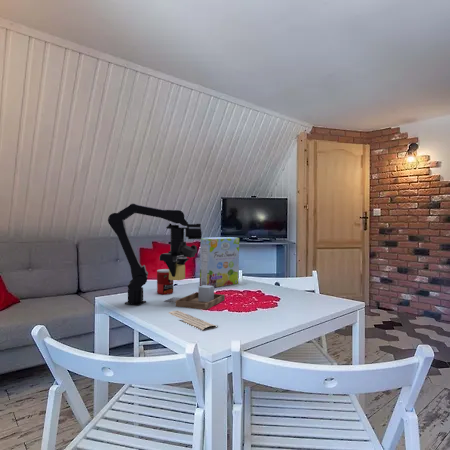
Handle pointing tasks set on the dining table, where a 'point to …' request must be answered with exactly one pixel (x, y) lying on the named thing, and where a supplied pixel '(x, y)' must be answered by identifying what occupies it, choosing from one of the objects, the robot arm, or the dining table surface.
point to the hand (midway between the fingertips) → (176, 275)
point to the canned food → (164, 282)
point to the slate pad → (172, 300)
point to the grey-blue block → (205, 293)
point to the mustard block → (178, 273)
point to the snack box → (219, 261)
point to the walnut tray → (193, 301)
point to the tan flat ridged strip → (191, 320)
